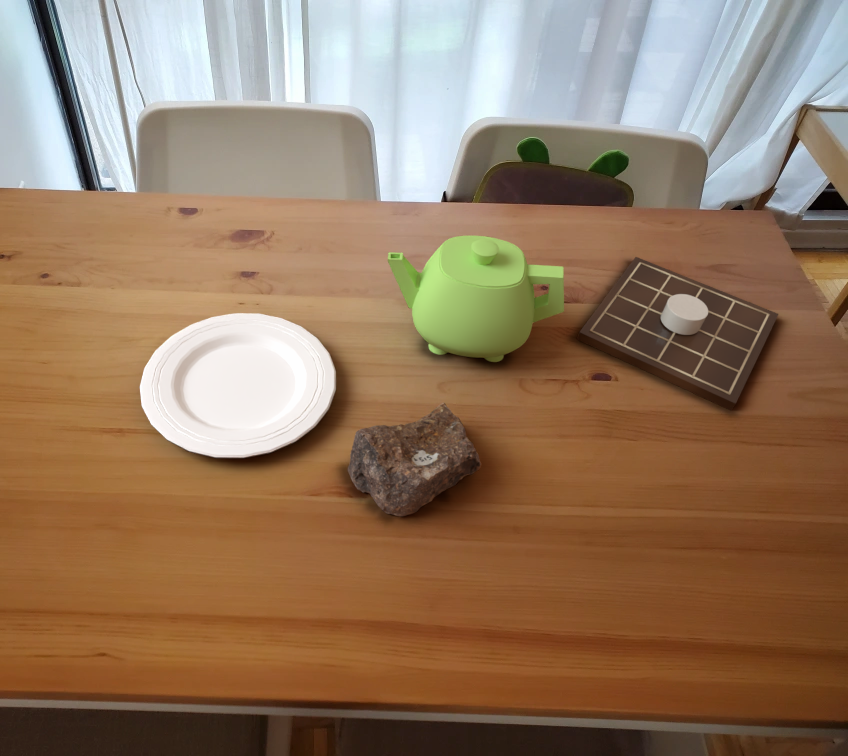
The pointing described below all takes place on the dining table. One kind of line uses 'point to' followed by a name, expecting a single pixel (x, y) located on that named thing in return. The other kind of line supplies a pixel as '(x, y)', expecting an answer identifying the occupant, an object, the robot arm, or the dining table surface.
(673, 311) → the white cylindrical puck
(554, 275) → the teapot
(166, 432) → the plate
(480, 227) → the dining table surface
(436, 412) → the rock
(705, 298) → the board
